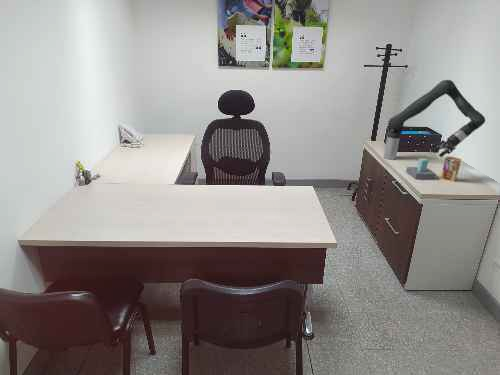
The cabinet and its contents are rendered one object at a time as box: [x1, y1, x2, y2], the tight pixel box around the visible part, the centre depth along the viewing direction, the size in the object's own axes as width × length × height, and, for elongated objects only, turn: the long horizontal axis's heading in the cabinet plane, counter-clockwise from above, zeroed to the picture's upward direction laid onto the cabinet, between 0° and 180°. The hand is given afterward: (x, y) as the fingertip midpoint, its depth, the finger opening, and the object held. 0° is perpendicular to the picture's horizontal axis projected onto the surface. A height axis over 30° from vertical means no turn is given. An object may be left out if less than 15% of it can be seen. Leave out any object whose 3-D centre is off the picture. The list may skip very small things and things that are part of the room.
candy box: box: [440, 155, 462, 182], centre depth 246 cm, size 9×4×15 cm, turn 39°
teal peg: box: [416, 157, 430, 172], centre depth 251 cm, size 4×4×11 cm
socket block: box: [405, 166, 437, 180], centre depth 253 cm, size 14×14×4 cm
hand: (436, 154), depth 248 cm, fingers open, 8 cm apart
